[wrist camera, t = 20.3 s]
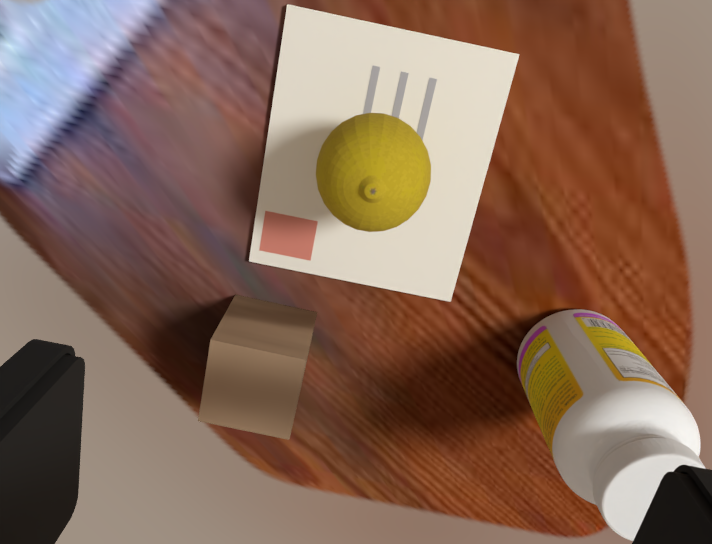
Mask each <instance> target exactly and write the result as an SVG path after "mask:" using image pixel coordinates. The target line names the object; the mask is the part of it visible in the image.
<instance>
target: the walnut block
mask: <svg viewBox="0 0 712 544" xmlns="http://www.w3.org/2000/svg"><path fill="white" fill-rule="evenodd" d="M316 316H317V312H314V311H309V310H305V309H300V308H295V307H291V306H286V305H281V304H277V303H272V302H267V301H263V300H258V299H253V298H249V297H244V296H240V295H235V296H234V298H233V300H232V302H231V304H230V305H229V307H228V309H227V311H226V313H225V314H224V316H223V318H222V320H221V322H220V323H219V325H218V327H217V329H216V331H215V332H214V334H213V336H212V338H211V340H210V346H209V353H208V359H207V366H206V372H205V379H204V385H203V392H202V398H201V405H200V411H199V418H198V421H200V422H205V423H210V424H215V425H220V426H225V427H230V428H235V429H239V430H244V431H249V432H254V433H259V434H264V435H269V436H274V437H278V438H283V439H288V440H289V439H290V434H291V430H292V425H293V421H294V416H295V412H296V407H297V403H298V398H299V394H300V389H301V385H302V380H303V376H304V371H305V366H306V362H307V357H308V353H309V348H310V343H311V339H312V334H313V330H314V325H315V320H316Z"/></svg>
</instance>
